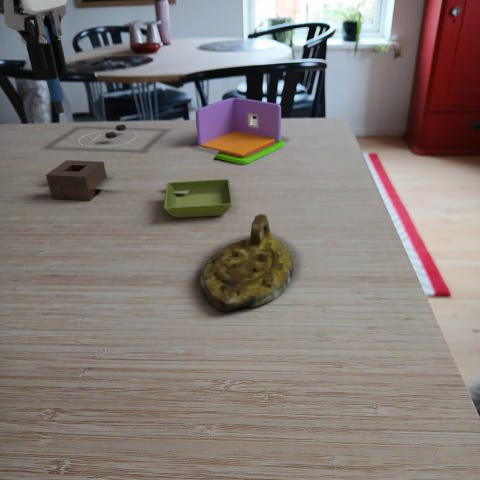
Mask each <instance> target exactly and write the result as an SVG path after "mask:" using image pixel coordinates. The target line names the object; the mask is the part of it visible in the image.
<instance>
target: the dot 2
mask: <svg viewBox="0 0 480 480" xmlns="http://www.w3.org/2000/svg"><path fill="white" fill-rule="evenodd" d="M115 129H116V130H115V131H117V132H123V131H124V130H127V126H126V125H125V124H117V125H115Z"/></svg>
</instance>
